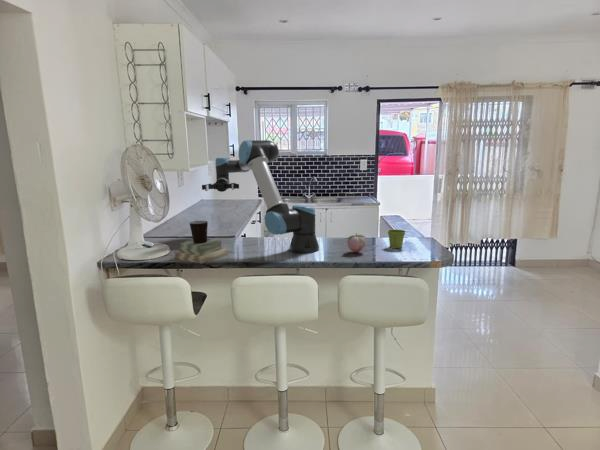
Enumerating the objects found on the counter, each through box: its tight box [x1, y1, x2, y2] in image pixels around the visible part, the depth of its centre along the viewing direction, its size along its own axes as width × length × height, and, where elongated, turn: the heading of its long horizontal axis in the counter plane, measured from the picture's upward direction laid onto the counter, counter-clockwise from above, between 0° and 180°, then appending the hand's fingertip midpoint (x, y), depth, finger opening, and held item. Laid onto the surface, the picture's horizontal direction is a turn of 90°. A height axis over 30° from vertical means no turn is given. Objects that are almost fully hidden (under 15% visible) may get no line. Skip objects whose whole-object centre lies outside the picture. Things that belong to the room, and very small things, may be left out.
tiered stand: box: [174, 238, 229, 265], centre depth 193 cm, size 18×18×8 cm
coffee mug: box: [189, 220, 208, 244], centre depth 190 cm, size 12×9×10 cm
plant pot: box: [387, 228, 407, 249], centre depth 204 cm, size 9×9×9 cm
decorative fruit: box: [346, 233, 367, 254], centre depth 195 cm, size 9×8×10 cm
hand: (219, 188), depth 209 cm, fingers open, 13 cm apart
